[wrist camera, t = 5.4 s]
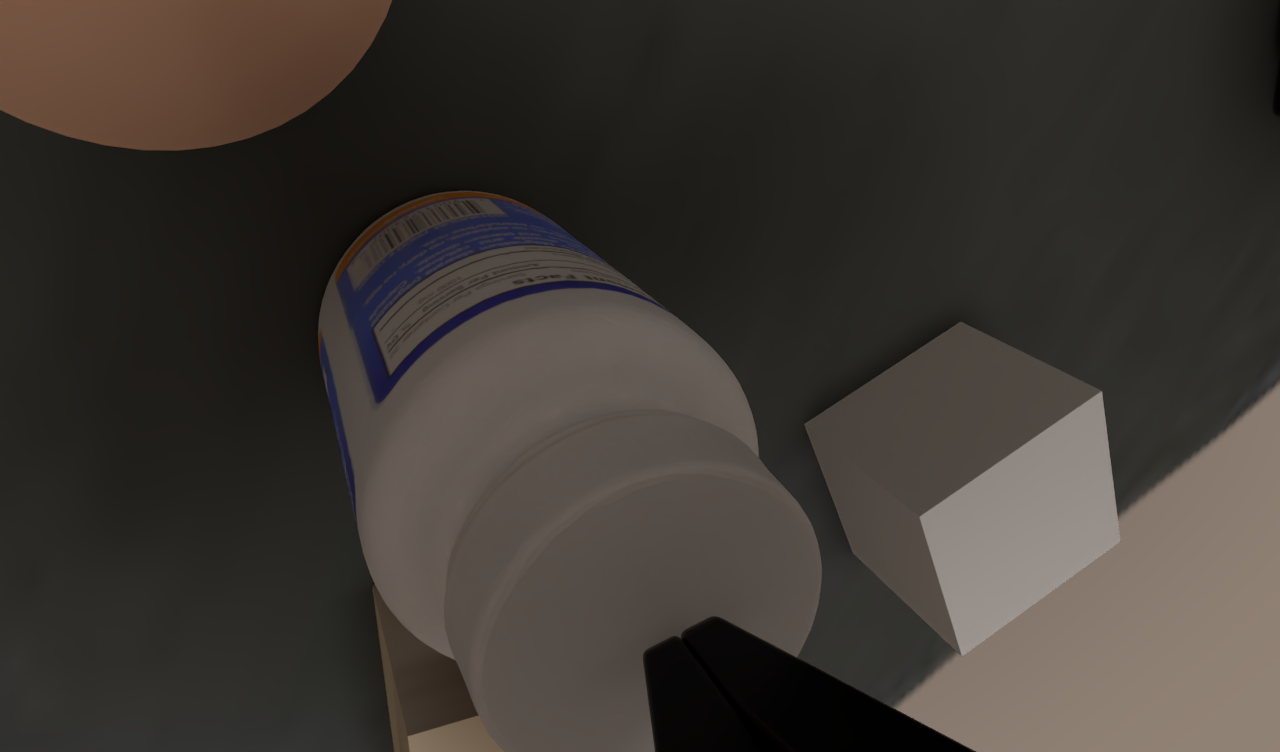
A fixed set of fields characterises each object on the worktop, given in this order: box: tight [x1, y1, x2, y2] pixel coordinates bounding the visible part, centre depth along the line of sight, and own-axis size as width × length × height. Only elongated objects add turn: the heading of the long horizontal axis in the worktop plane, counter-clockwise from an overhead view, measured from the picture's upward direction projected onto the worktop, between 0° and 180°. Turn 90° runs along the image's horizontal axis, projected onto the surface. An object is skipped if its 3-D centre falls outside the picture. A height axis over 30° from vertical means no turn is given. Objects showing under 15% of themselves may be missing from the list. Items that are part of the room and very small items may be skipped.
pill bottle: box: [318, 191, 822, 752], centre depth 13 cm, size 5×5×10 cm
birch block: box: [372, 585, 506, 752], centre depth 19 cm, size 5×5×4 cm
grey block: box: [804, 322, 1120, 656], centre depth 22 cm, size 5×5×4 cm
